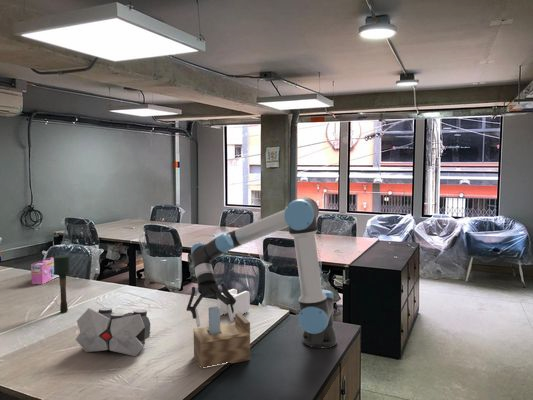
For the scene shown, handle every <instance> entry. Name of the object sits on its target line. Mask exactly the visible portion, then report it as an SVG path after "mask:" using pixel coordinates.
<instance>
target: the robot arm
mask: <svg viewBox="0 0 533 400" xmlns="http://www.w3.org/2000/svg"><path fill="white" fill-rule="evenodd" d="M319 213H320V208H319V205H318V203H317V202H316V201H315V200H314V199H313V198H311V197H306V196H304V197H303V196H302V197H300V198H297V199H293V200H292V201H290V202H289V203H288V204H287V205H286V206H285V208H284V209H283V210H281V211H278V212H276V213H273V214H271V215H268V216H266V217H264V218H261V219H259V220H256V221H254V222H252V223H251V222H250V223H249V224H247V225H244V226H241V227H239V228H237V229H234V230H232V231H229V232H225V233H222V234H220V235H218V236H216V237H215V238H213V239H212V240H211V241H209V242H207V243H205V242H198V243H195V244H192V246H191V248H190V252H191V259H192V263H193V264H192V265H193V267H194V272H195V273H194V274H195V278H196V284H197V287H195V286H192V287H191V290H190V293H191V294H190V298H189V301H188V303H187V306H186V311H187V312H191V314H192V315H191V316H192V319H193V320H194V319H195V322H196V327H197V328H199V327H200V325H201V320H200V315H199V311H198V308H197V307H198V305H199V304H200V302H201V301H202V300H203V298H205V299H206V298H213V297H215V298H217V300H218V299H220V300H221V301H222V302H224V303H225V304H226V305H227V310H228V318H229V322H230V323H233V321H234V320H235V319H234V318H235V317H233V314H232V313H233V312H234V309H233V305H234V304H235V302H236V300H235V299H234V297H233V296H232V295H231V294H230V293H229V292H228V290H229V289H227V288H226V286H225V284H224V283H223V282H222V283H221V284H219V285H217V282H216V277H215V274H214V273H215V272H214V269H213V265H212V261H214V260H216V259H217V258H219V257H220V256H222V255H224V254H226V253H227V252H230V251H231V250H234V249H235V248H238V247H241V246H242V245H245V244H248V243H251V242H252V241H256V240H259V239H261V238H263V237H266V236H269V235H271V234H273V233H276V232H278V231H281V230H283V229H286V228H288V233H289V235H290V236H291V237H292V238H293V242H294V248H295V250H294V251H295V255H296V263H297V271H298V279H299V285H300V286H299V287H300V294H301V295H300V296H299V298H298V299H297V300H298V308H299V314H298V318H297V319H298V324H299V326H300V328H301V329H302V330H303V332H302V335H301V337H302V339H301V340H302V343H303V344H304V343H305V344H306V346H307V345H308V346H307V347H309V346H312V347H311V348H313V347H319V348H318V349H322V348H321V347H330V346H333V345H335V344H336V345H337V343H336V342H338V339H337V338H338V337H337V333H336V331H335V330H336V329H335V327H334V293H333V291H331V290H327V289H323V287H322V286H323V285H322V280H321V273H320V272H321V271H320V265H319V257H318V249H317V241H316V234H317V232H318V231H319V229H318V219H317V218H318V217H319ZM218 289H219V290H218ZM220 291H221V292H220ZM197 292H198V293H199V294H200V295H199V296H198V297H197V299H196V301H195V302H194V304H193V305H192V303H193V300H194V298H195V295H196V294H197ZM221 293H223V294H224V295H225V296H226V297H227V298H226V297H225V296H224V295H222V294H221ZM305 344H304V345H305ZM336 345H335V346H336ZM333 347H334V346H333ZM330 348H331V347H330Z"/></svg>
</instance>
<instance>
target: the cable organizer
mask: <svg viewBox="0 0 533 400" xmlns="http://www.w3.org/2000/svg"><path fill="white" fill-rule="evenodd" d="M227 290H228V292H229V293H230V294H231V295H232V296H233V297H234V299H235V300H236V302H235V304H234V305H233V309H234V312H233V313H232V314H233V318H235V313H241V314H242V315H245V314H247V313H248V312H249V311H250V308H251V307H250V306H251V305H250V304H251V302H250V301H251V300H250V297H251V294H250V293H251V292H250V291H248V290H244V291H242V292H239V293H238V290H237V289H236V288H232V289H227ZM220 293H221V294H222V295H224V294H223V293H222V292H220ZM224 296H225V295H224ZM225 297H226V296H225ZM226 298H227V297H226ZM217 307H218V308H219V309H220V316H224V315H226V314H228V310H227V305H226V304H225V303H224V302H222V301H221V300H220V299H218V298H217ZM246 312H247V313H246ZM244 313H245V314H244ZM223 314H224V315H223ZM228 315H229V314H228Z"/></svg>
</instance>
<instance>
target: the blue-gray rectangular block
mask: <svg viewBox="0 0 533 400" xmlns="http://www.w3.org/2000/svg"><path fill="white" fill-rule="evenodd" d="M220 325H221V315H220V309H219V308H218V306H211V307H208V327H209V334H210V335H214V334H220Z"/></svg>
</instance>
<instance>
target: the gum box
mask: <svg viewBox="0 0 533 400" xmlns="http://www.w3.org/2000/svg"><path fill="white" fill-rule="evenodd" d="M54 257H55V256H50V257H48V258H45V259H43V260H39V261H36V262H34V263H31V264H30V269H31V270H30V273H31V285H35V284H43V285H45V284H47V283H46V282H48V281H50V280H52V279H54V278H56V277H59V275H54V274H53V273H54ZM52 281H53V280H52ZM50 282H51V281H50ZM44 283H45V284H44ZM48 283H49V282H48Z"/></svg>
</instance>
